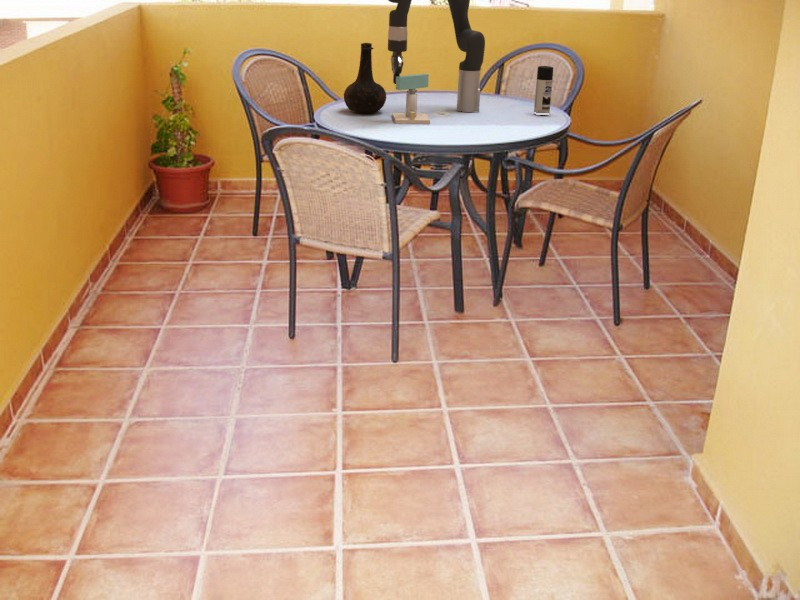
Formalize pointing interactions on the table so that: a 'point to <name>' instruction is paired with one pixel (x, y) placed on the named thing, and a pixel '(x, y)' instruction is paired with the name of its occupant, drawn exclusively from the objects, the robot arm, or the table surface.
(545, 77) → the spray can
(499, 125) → the table surface
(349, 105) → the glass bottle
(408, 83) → the pale green block
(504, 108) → the table surface
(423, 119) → the post base
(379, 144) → the table surface
